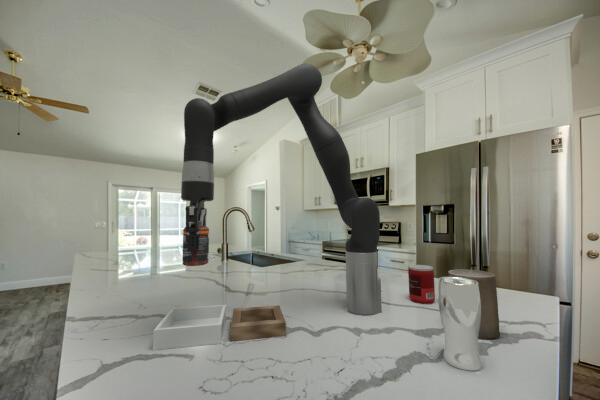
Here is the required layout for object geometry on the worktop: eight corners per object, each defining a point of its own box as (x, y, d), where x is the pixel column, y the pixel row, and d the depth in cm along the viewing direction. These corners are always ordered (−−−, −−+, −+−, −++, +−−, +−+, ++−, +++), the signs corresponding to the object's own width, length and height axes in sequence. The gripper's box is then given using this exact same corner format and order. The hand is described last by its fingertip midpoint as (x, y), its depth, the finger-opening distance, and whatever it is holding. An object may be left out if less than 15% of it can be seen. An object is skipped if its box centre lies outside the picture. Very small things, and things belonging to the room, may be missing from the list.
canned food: (436, 299, 86) (434, 265, 87) (433, 306, 80) (432, 269, 81) (411, 295, 91) (410, 263, 91) (407, 301, 84) (406, 267, 85)
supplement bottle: (213, 263, 65) (214, 217, 66) (199, 267, 59) (200, 217, 60) (192, 262, 66) (193, 218, 67) (176, 266, 60) (178, 217, 61)
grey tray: (225, 319, 70) (226, 304, 70) (220, 343, 56) (221, 324, 57) (171, 324, 67) (171, 308, 67) (152, 350, 54) (153, 330, 54)
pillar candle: (503, 330, 62) (498, 266, 63) (496, 344, 55) (490, 272, 56) (457, 320, 69) (454, 262, 70) (446, 331, 62) (442, 267, 63)
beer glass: (433, 353, 52) (429, 276, 53) (465, 351, 52) (462, 276, 53) (457, 373, 45) (452, 285, 46) (494, 371, 45) (489, 284, 47)
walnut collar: (279, 316, 72) (279, 305, 72) (285, 335, 60) (285, 322, 60) (233, 320, 69) (233, 308, 70) (230, 341, 57) (230, 327, 57)
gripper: (209, 177, 58) (208, 253, 57) (217, 185, 72) (215, 246, 71) (174, 176, 57) (171, 254, 55) (188, 185, 71) (186, 247, 69)
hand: (196, 249), depth 63 cm, fingers closed on supplement bottle, 6 cm apart
